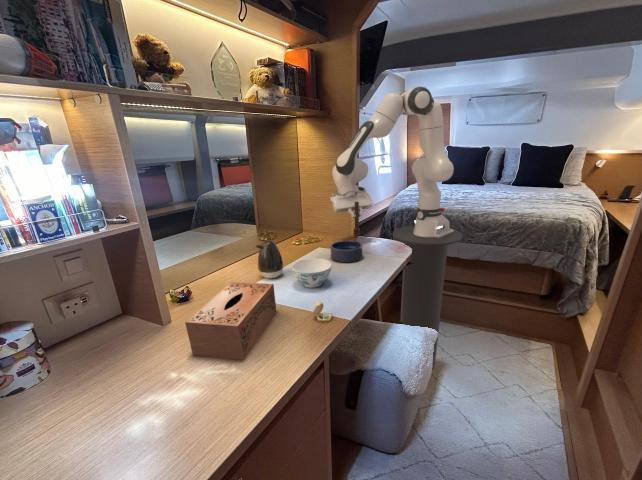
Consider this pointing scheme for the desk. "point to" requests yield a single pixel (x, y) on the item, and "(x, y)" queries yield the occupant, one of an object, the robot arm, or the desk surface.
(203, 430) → the desk surface
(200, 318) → the tissue box cover
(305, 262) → the chinaware
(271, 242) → the pump dispenser
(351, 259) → the bowl
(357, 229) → the stirring stick
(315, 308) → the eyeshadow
